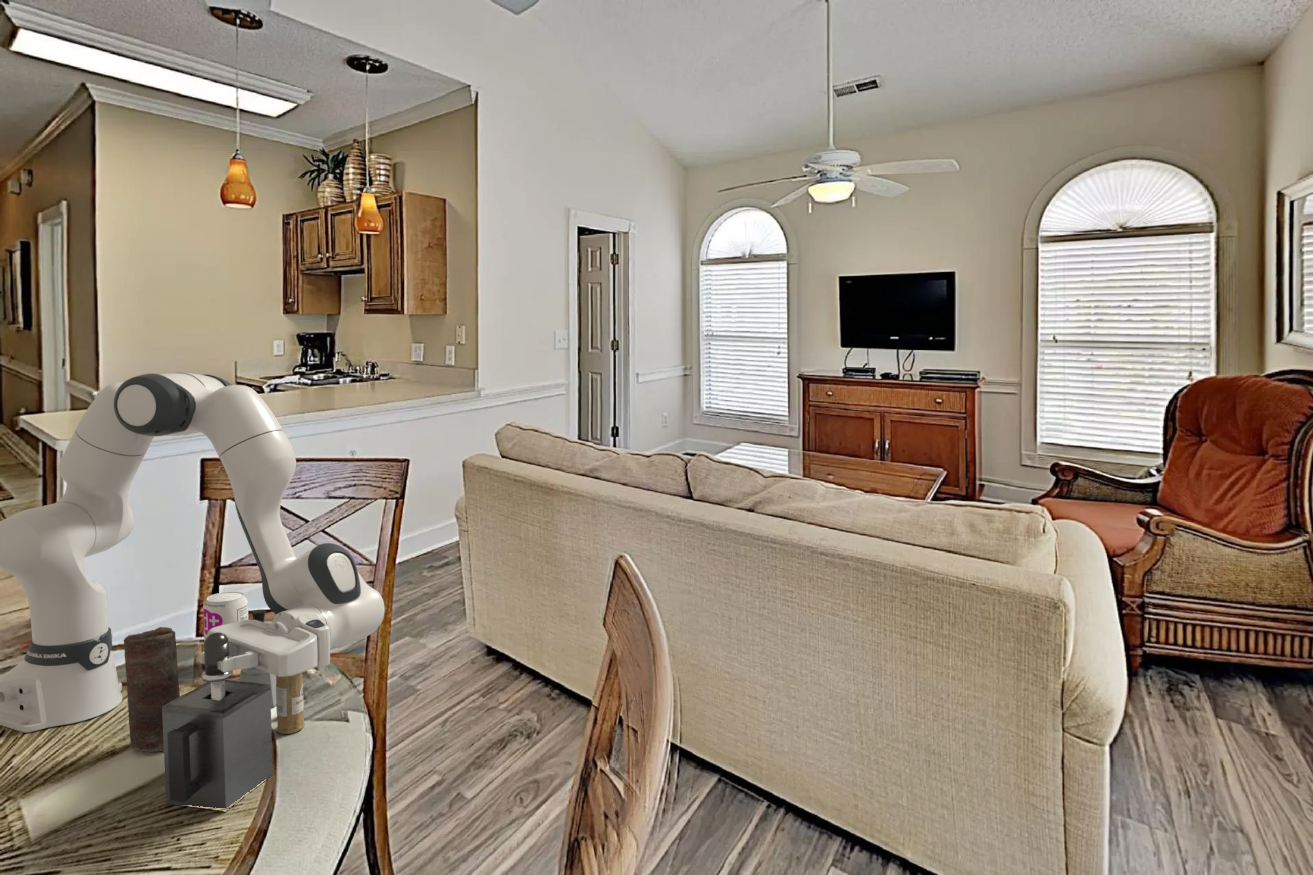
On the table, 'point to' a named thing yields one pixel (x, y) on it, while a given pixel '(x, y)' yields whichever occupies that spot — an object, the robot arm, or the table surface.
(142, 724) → the candle
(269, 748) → the press body
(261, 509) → the robot arm
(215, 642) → the eye dropper
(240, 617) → the supplement can
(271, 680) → the coffee maker
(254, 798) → the table surface
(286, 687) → the sprinkles bottle
